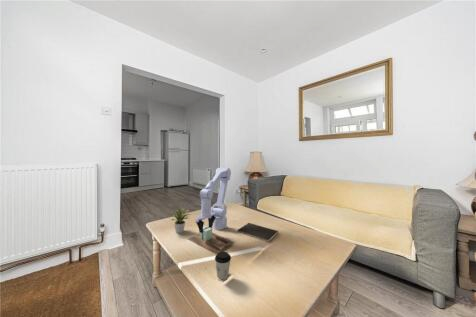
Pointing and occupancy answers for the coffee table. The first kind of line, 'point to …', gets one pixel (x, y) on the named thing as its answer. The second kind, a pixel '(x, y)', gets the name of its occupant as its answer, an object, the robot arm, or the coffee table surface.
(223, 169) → the robot arm
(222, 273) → the coffee cup
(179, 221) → the house plant
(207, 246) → the shelf
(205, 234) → the sage block
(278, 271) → the coffee table surface
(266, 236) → the hardcover book
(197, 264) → the coffee table surface
